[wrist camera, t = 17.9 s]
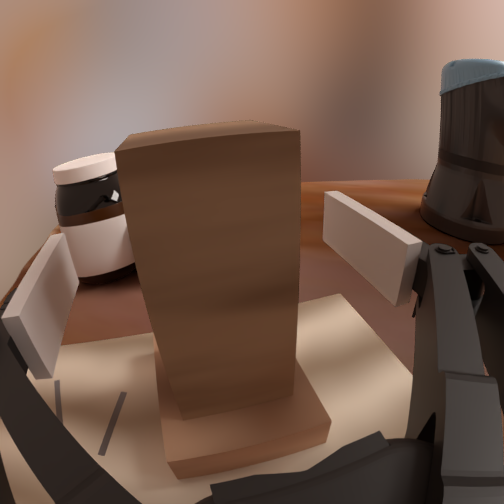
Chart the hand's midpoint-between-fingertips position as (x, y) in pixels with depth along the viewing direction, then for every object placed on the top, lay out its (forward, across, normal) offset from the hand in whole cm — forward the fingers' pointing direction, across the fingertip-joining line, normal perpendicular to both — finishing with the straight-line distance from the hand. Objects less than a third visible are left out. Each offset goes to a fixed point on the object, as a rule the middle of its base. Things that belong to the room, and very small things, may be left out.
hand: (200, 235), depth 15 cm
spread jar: (+17, -7, -10) cm, 20 cm away
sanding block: (-3, 0, -8) cm, 8 cm away
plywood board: (-3, -4, -9) cm, 11 cm away
